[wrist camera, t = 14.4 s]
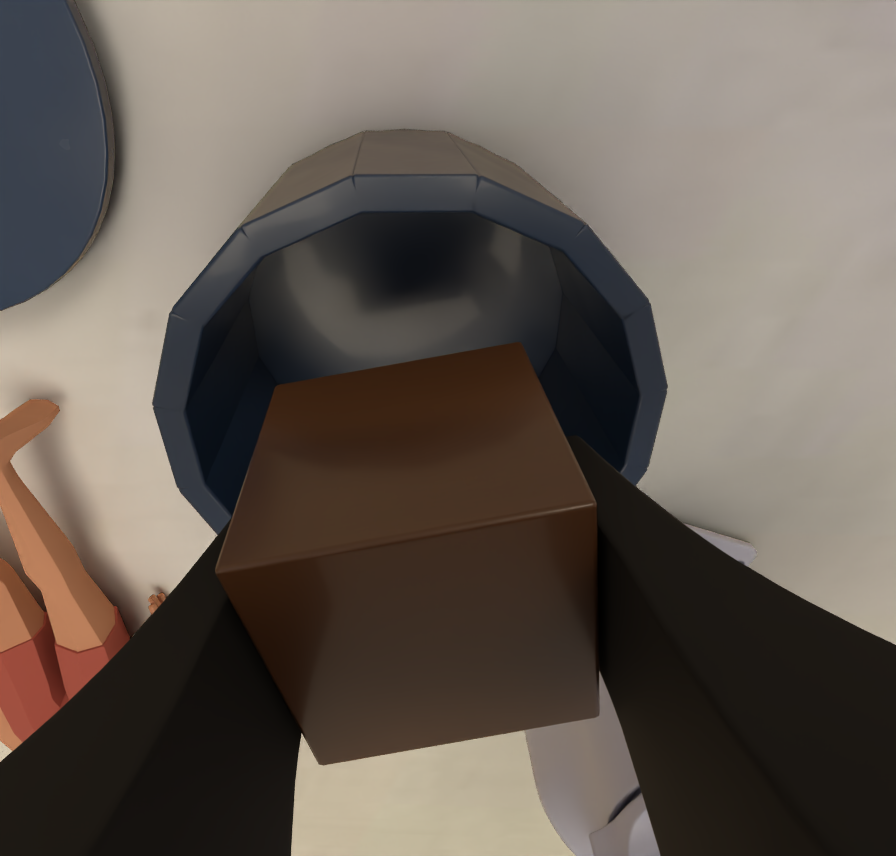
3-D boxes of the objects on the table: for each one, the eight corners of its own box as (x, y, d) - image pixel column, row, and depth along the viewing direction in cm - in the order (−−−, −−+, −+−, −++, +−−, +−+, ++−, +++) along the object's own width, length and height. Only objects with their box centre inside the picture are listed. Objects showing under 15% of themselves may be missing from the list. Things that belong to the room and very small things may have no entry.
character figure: (-131, 398, 18) (123, 806, 31) (-259, 472, 15) (86, 895, 28) (87, 391, 18) (248, 802, 31) (10, 464, 15) (227, 889, 28)
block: (537, 523, 13) (601, 719, 9) (338, 559, 13) (318, 768, 9) (521, 339, 10) (599, 502, 6) (273, 383, 10) (209, 572, 6)
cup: (488, 487, 21) (524, 638, 16) (201, 404, 18) (123, 555, 13) (641, 221, 17) (768, 306, 11) (285, 53, 14) (218, 54, 8)
